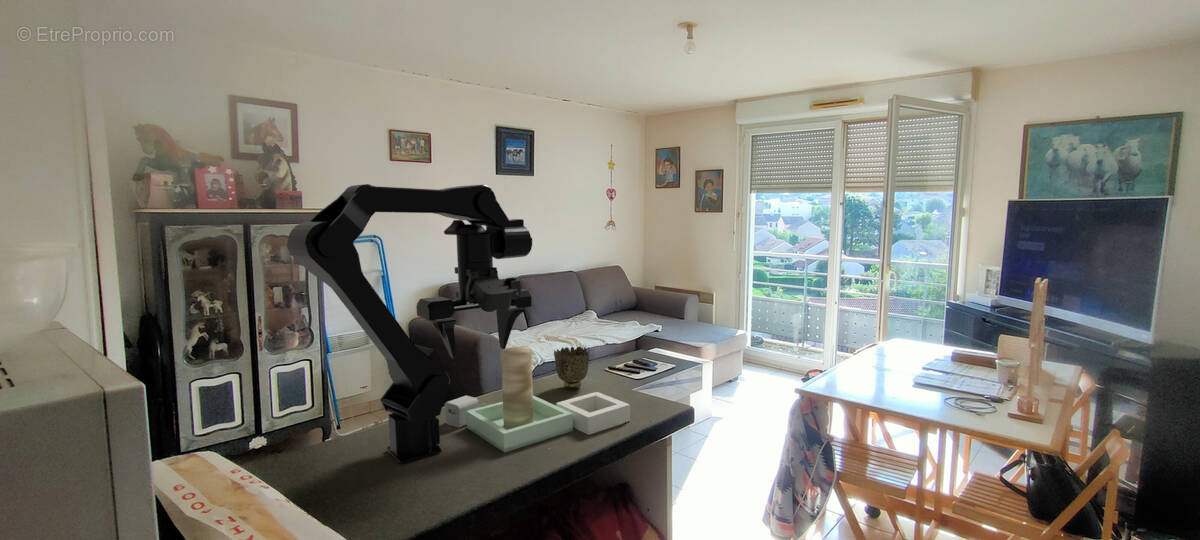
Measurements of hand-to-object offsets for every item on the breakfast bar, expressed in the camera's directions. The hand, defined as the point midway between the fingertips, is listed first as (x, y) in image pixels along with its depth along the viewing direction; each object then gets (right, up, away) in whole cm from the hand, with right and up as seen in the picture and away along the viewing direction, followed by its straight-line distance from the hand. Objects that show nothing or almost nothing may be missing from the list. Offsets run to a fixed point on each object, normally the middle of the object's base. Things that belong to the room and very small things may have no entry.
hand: (478, 353), depth 94 cm
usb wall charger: (-3, -13, +5) cm, 14 cm away
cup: (+15, -11, +22) cm, 29 cm away
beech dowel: (+7, -12, 0) cm, 14 cm away
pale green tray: (+7, -13, 0) cm, 15 cm away
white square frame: (+19, -12, +4) cm, 23 cm away
